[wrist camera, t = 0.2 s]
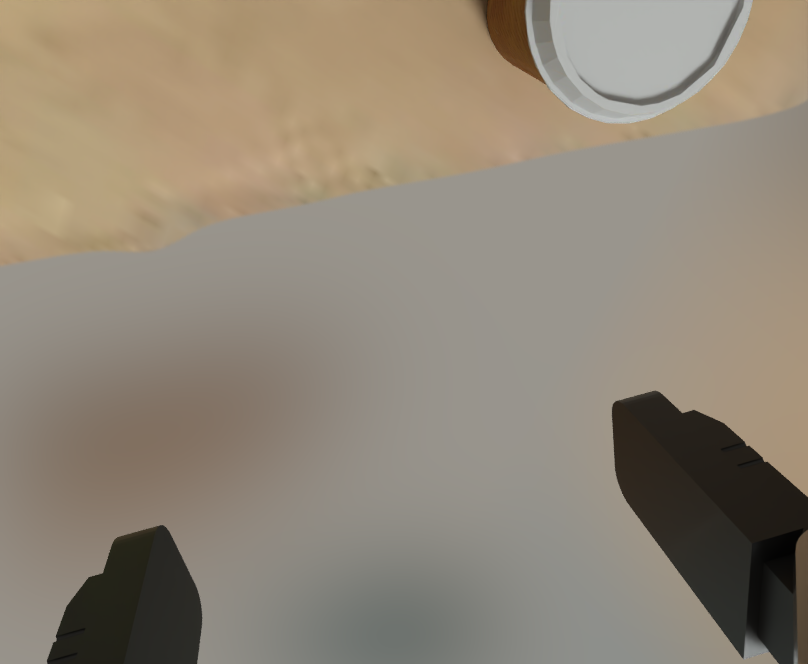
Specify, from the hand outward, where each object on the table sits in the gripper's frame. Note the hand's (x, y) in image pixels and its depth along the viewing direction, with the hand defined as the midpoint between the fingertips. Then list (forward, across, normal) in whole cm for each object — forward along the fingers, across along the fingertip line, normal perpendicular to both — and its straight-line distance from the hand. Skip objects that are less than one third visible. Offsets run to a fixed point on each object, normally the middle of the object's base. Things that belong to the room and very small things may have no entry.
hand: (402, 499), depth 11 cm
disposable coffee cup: (+29, -14, -6) cm, 33 cm away
